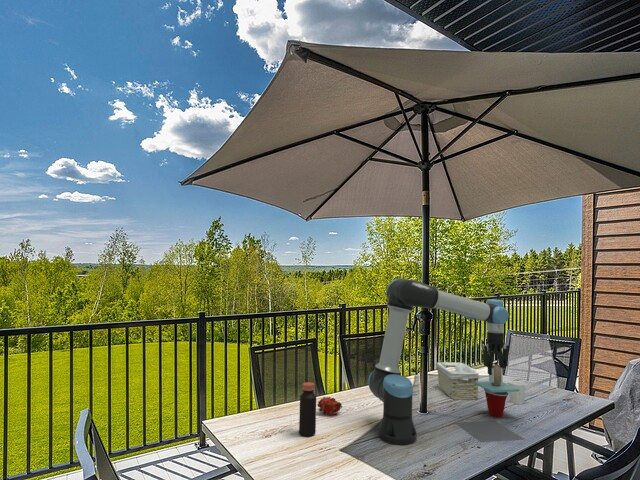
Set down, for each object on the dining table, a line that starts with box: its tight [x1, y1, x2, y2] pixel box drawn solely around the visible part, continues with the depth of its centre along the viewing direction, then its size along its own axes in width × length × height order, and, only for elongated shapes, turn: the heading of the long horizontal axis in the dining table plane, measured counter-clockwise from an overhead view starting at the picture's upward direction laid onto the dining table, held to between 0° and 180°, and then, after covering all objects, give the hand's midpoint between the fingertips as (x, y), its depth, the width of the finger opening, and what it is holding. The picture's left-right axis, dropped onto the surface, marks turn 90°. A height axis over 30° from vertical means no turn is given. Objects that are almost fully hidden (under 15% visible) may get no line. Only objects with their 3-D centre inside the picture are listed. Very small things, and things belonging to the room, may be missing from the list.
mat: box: [454, 420, 525, 443], centre depth 168 cm, size 20×20×1 cm
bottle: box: [298, 381, 317, 438], centre depth 162 cm, size 7×7×20 cm
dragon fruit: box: [316, 396, 343, 416], centre depth 184 cm, size 8×8×12 cm
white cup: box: [508, 380, 526, 405], centre depth 207 cm, size 8×8×10 cm
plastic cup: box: [483, 388, 509, 419], centre depth 186 cm, size 11×11×12 cm
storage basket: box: [436, 361, 480, 400], centre depth 221 cm, size 24×16×15 cm
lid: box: [474, 364, 519, 393], centre depth 187 cm, size 14×14×10 cm
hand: (495, 381), depth 187 cm, fingers closed on lid, 4 cm apart
